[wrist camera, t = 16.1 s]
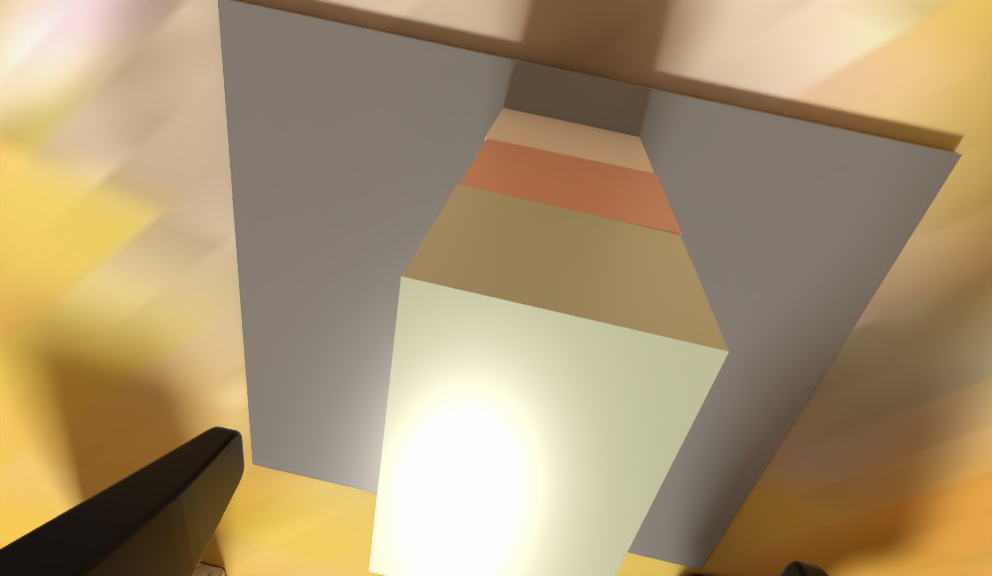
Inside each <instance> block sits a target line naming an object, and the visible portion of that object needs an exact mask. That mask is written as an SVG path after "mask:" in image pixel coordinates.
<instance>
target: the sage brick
mask: <svg viewBox="0 0 992 576" xmlns="http://www.w3.org/2000/svg"><path fill="white" fill-rule="evenodd" d="M728 353H729V350H728V348H727V345H726V343H725V340H724V338H723V336H722V333H721V331H720V328H719V326H718V324H717V321H716V319H715V316H714V314H713V312H712V309H711V307H710V304H709V302H708V300H707V297H706V295H705V292H704V290H703V288H702V285H701V283H700V280H699V278H698V276H697V273H696V271H695V268H694V266H693V264H692V261H691V259H690V256H689V254H688V252H687V249H686V247H685V244H684V242H683V240H682V237H681V235H680V234H675V233H671V232H667V231H662V230H658V229H653V228H649V227H644V226H640V225H636V224H631V223H627V222H622V221H618V220H613V219H609V218H604V217H600V216H596V215H591V214H587V213H582V212H578V211H573V210H569V209H564V208H560V207H556V206H551V205H547V204H542V203H538V202H533V201H529V200H524V199H520V198H516V197H511V196H507V195H502V194H498V193H493V192H489V191H485V190H480V189H476V188H471V187H467V186H462V185H458V184H457V186H456V187H455V189H454V191H453V192H452V194H451V195H450V197H449V199H448V200H447V202H446V204H445V205H444V207H443V209H442V210H441V212H440V213H439V215H438V217H437V218H436V220H435V222H434V223H433V225H432V227H431V228H430V230H429V231H428V233H427V235H426V236H425V238H424V240H423V241H422V243H421V245H420V246H419V248H418V249H417V251H416V253H415V254H414V256H413V258H412V259H411V261H410V263H409V264H408V266H407V267H406V269H405V271H404V272H403V274H402V276H401V282H400V291H399V300H398V309H397V319H396V328H395V337H394V346H393V355H392V364H391V373H390V383H389V392H388V401H387V410H386V419H385V428H384V437H383V447H382V456H381V465H380V474H379V483H378V492H377V501H376V511H375V520H374V529H373V538H372V547H371V556H370V565H369V571H370V572H374V573H378V574H382V575H386V576H615V575H616V573H617V571H618V569H619V568H620V566H621V564H622V562H623V560H624V558H625V556H626V554H627V552H628V550H629V548H630V546H631V544H632V542H633V540H634V538H635V536H636V534H637V532H638V530H639V528H640V526H641V524H642V522H643V520H644V518H645V516H646V514H647V512H648V510H649V508H650V506H651V505H652V503H653V501H654V499H655V497H656V495H657V493H658V491H659V489H660V487H661V485H662V483H663V481H664V479H665V477H666V475H667V473H668V471H669V469H670V467H671V465H672V463H673V461H674V459H675V457H676V455H677V453H678V451H679V449H680V447H681V445H682V443H683V442H684V440H685V438H686V436H687V434H688V432H689V430H690V428H691V426H692V424H693V422H694V420H695V418H696V416H697V414H698V412H699V410H700V408H701V406H702V404H703V402H704V400H705V398H706V396H707V394H708V392H709V390H710V388H711V386H712V384H713V382H714V380H715V379H716V377H717V375H718V373H719V371H720V369H721V367H722V365H723V363H724V361H725V359H726V357H727V355H728Z"/></svg>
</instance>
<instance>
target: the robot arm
mask: <svg viewBox="0 0 992 576" xmlns="http://www.w3.org/2000/svg"><path fill="white" fill-rule="evenodd" d="M243 471H244V454H243V443H242V436H241V434H240V433H239V432H238V431H236V430H231V429H227V428H223V427H213V428H211V429H209V430H207V431H205V432H203V433H202V434H200V435H198V436H196V437H195V438H193V439H191V440H189V441H188V442H186V443H184V444H182V445H181V446H179V447H177V448H175V449H174V450H172V451H170V452H168V453H167V454H165V455H163V456H162V457H160V458H158V459H156V460H155V461H153V462H151V463H149V464H148V465H146V466H144V467H142V468H141V469H139V470H137V471H135V472H134V473H132V474H130V475H128V476H127V477H125V478H123V479H121V480H120V481H118V482H116V483H115V484H113V485H111V486H109V487H108V488H106V489H104V490H102V491H101V492H99V493H97V494H95V495H94V496H92V497H90V498H88V499H87V500H85V501H83V502H81V503H80V504H78V505H76V506H74V507H73V508H71V509H69V510H68V511H66V512H64V513H62V514H61V515H59V516H57V517H55V518H54V519H52V520H50V521H48V522H47V523H45V524H43V525H41V526H40V527H38V528H36V529H34V530H33V531H31V532H29V533H27V534H26V535H24V536H22V537H21V538H19V539H17V540H15V541H14V542H12V543H10V544H8V545H7V546H5V547H3V548H1V549H0V576H192V575H193V573H194V571H195V569H196V568H197V566H198V564H199V562H200V560H201V558H202V556H203V554H204V552H205V550H206V548H207V546H208V544H209V542H210V540H211V538H212V536H213V534H214V532H215V530H216V528H217V526H218V524H219V522H220V520H221V518H222V516H223V514H224V512H225V510H226V508H227V506H228V504H229V502H230V500H231V498H232V496H233V494H234V492H235V490H236V488H237V486H238V484H239V482H240V480H241V478H242V475H243ZM693 576H700V575H693ZM779 576H829V575H828V574H827V573H826V572H825V571H824V570H823V569H822V568H820V567H818V566H816V565H812V564H808V563H804V562H800V561H792V562H790V563H789V564H788V565H787V566H786V567H785V569H784V570H783V571H782V573H781V574H780V575H779Z"/></svg>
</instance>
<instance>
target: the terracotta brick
mask: <svg viewBox="0 0 992 576" xmlns="http://www.w3.org/2000/svg"><path fill="white" fill-rule="evenodd" d="M459 185H462V186H467V187H471V188H476V189H480V190H485V191H489V192H493V193H498V194H502V195H507V196H511V197H516V198H520V199H524V200H529V201H533V202H538V203H542V204H547V205H551V206H556V207H560V208H564V209H569V210H573V211H578V212H582V213H587V214H591V215H596V216H600V217H604V218H609V219H613V220H618V221H622V222H627V223H631V224H636V225H640V226H644V227H649V228H653V229H658V230H662V231H667V232H671V233H675V234H680V235H682V233H681V230H680V228H679V226H678V223H677V221H676V219H675V216H674V214H673V212H672V209H671V207H670V205H669V202H668V200H667V197H666V195H665V193H664V190H663V188H662V186H661V183H660V181H659V179H658V176H657V174H655V173H650V172H645V171H640V170H636V169H631V168H626V167H621V166H617V165H612V164H607V163H603V162H598V161H593V160H588V159H584V158H579V157H574V156H569V155H565V154H560V153H555V152H550V151H546V150H541V149H536V148H531V147H527V146H522V145H517V144H512V143H508V142H503V141H498V140H493V139H489V138H487V139H486V140H485V142H484V144H483V145H482V147H481V149H480V150H479V152H478V154H477V155H476V157H475V159H474V160H473V162H472V164H471V165H470V167H469V169H468V170H467V172H466V174H465V175H464V177H463V179H462V180H461V182H460V184H459Z"/></svg>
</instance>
